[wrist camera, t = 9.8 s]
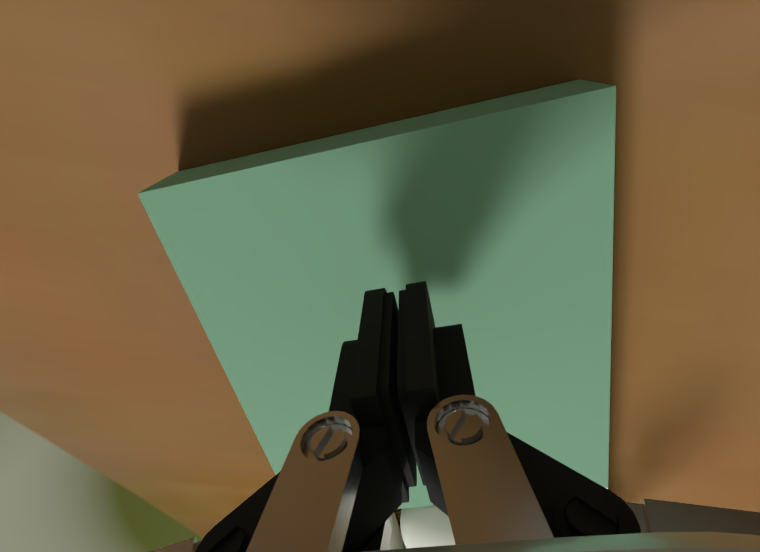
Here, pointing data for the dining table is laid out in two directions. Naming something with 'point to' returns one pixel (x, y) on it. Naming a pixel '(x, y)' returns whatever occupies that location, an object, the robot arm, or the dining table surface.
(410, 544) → the ball
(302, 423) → the green
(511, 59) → the dining table surface
